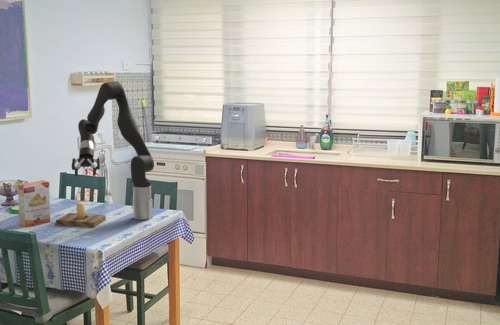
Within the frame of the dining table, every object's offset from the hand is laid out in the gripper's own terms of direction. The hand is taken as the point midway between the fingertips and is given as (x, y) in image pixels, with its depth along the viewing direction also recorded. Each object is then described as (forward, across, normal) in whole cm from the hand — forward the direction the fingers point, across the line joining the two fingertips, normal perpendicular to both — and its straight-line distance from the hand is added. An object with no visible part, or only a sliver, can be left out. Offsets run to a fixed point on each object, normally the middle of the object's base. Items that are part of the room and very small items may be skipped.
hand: (85, 175), depth 290 cm
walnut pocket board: (+25, -1, +5) cm, 26 cm away
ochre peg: (+25, -1, +5) cm, 26 cm away
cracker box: (+25, -23, +6) cm, 35 cm away
